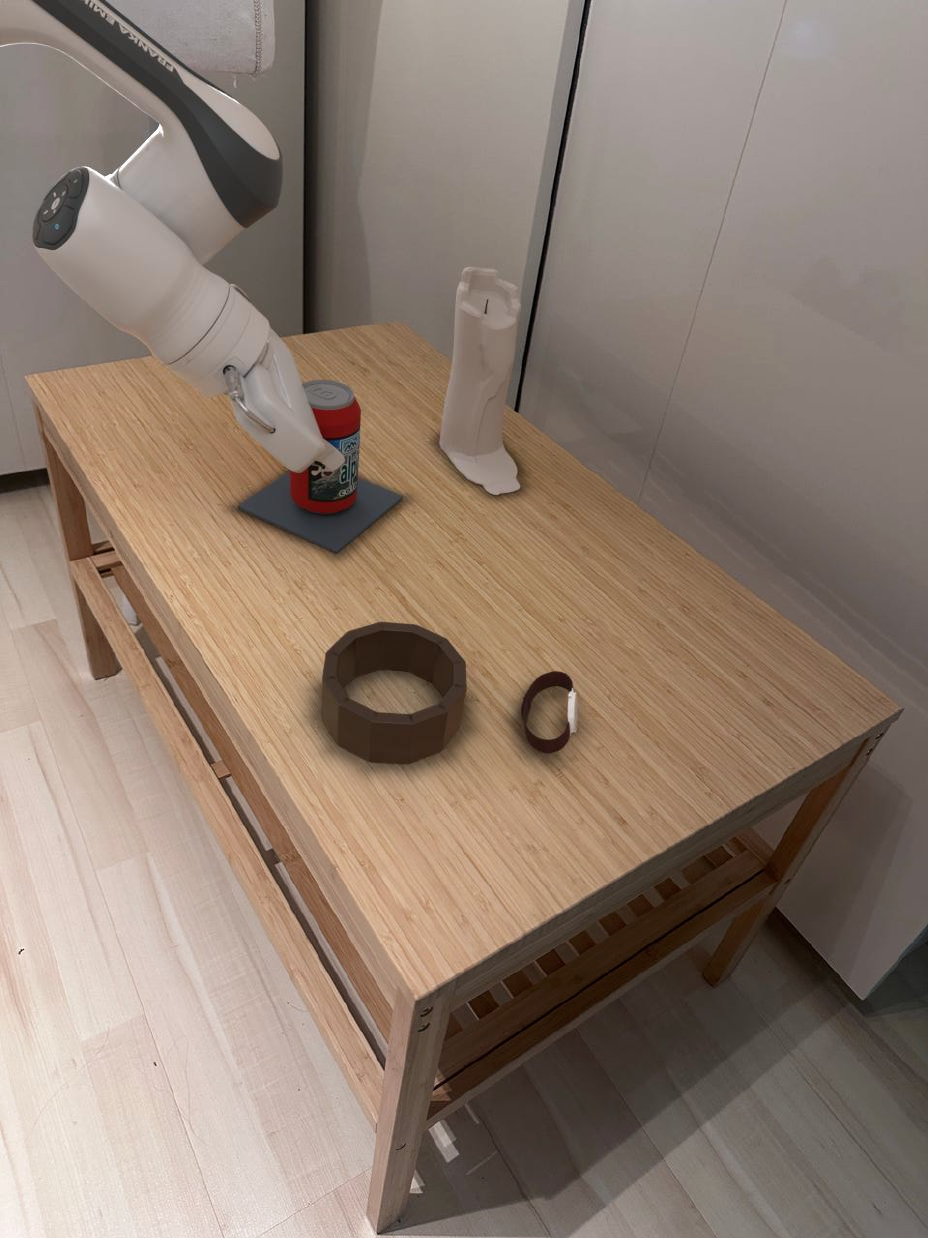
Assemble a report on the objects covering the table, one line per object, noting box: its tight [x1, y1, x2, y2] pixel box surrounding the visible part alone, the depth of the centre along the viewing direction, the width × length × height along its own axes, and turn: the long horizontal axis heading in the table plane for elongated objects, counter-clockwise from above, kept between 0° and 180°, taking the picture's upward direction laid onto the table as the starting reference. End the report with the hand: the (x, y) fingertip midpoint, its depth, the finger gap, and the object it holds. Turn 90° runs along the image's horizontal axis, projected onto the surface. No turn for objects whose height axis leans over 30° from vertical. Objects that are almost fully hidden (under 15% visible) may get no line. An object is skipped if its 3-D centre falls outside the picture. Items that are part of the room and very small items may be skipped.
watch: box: [520, 670, 579, 754], centre depth 68 cm, size 8×5×4 cm, turn 170°
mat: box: [236, 470, 404, 555], centre depth 88 cm, size 12×12×1 cm
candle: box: [439, 266, 522, 496], centre depth 92 cm, size 7×14×20 cm, turn 24°
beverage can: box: [289, 379, 362, 514], centre depth 84 cm, size 7×7×12 cm
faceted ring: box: [320, 621, 467, 765], centre depth 67 cm, size 11×11×4 cm
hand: (330, 440), depth 84 cm, fingers closed on beverage can, 7 cm apart
